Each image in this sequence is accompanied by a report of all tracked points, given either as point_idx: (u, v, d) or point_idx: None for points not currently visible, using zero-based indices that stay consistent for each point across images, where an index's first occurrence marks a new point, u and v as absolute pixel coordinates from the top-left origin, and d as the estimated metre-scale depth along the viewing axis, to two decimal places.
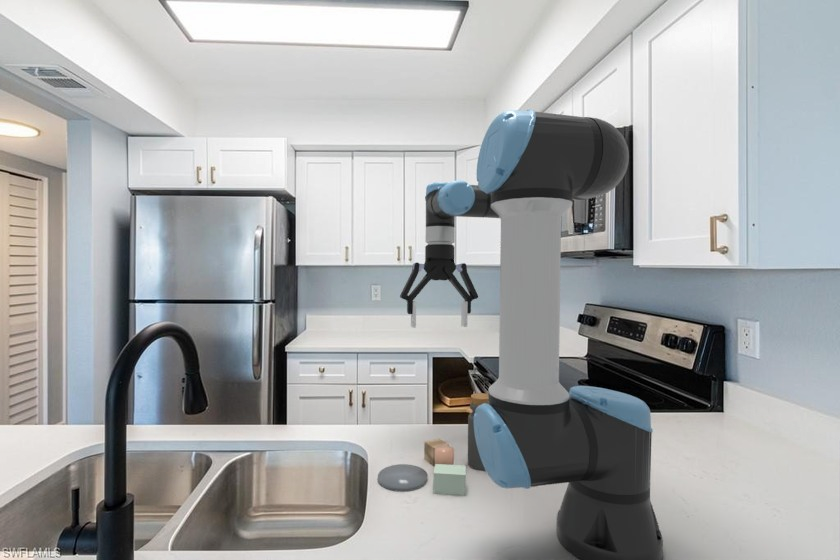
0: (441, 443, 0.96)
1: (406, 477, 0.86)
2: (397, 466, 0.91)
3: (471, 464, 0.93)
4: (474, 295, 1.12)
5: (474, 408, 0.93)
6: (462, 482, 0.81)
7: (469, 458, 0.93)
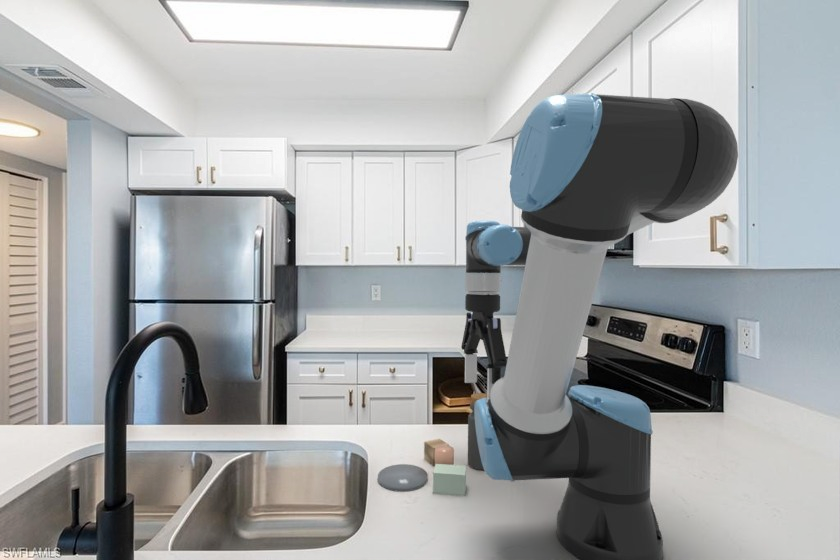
0: (441, 443, 0.96)
1: (406, 477, 0.86)
2: (397, 466, 0.91)
3: (471, 464, 0.93)
4: (493, 362, 0.85)
5: None
6: (462, 482, 0.81)
7: (469, 458, 0.93)
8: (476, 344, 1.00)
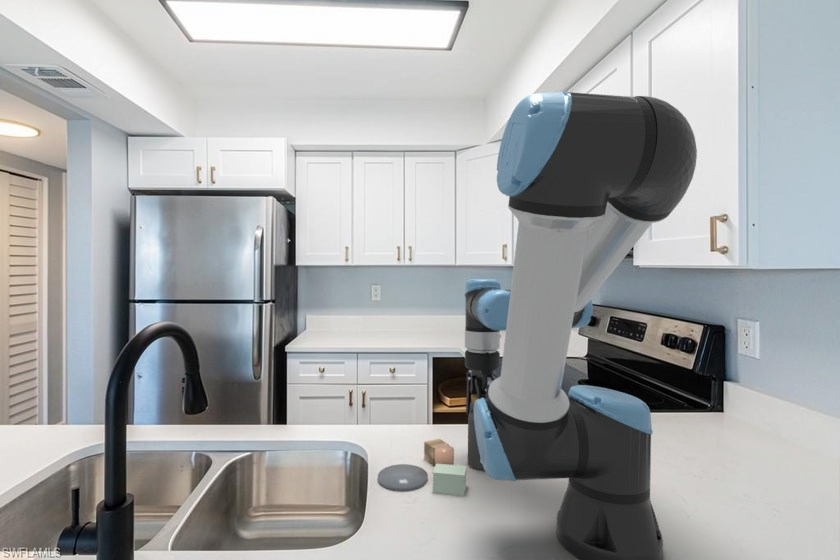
0: (441, 443, 0.96)
1: (406, 477, 0.86)
2: (397, 466, 0.91)
3: (471, 464, 0.93)
4: None
5: None
6: (461, 482, 0.81)
7: (469, 458, 0.93)
8: None
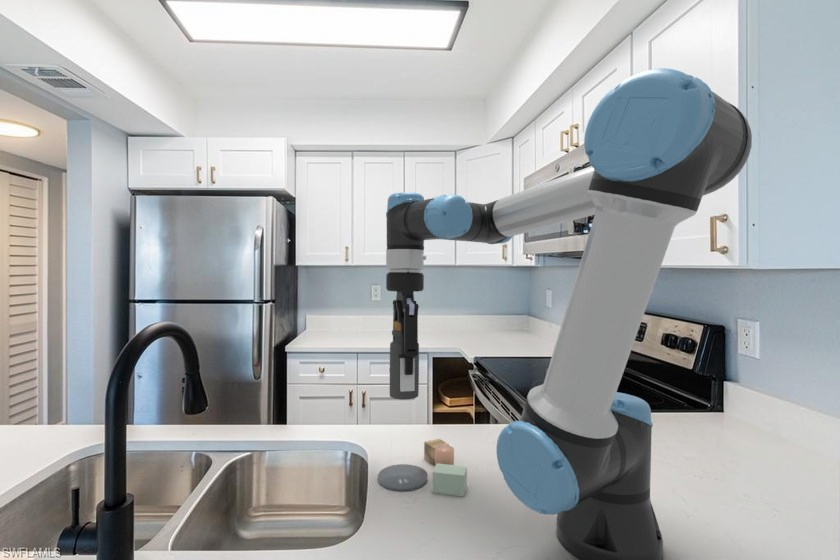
0: (441, 443, 0.96)
1: (406, 477, 0.86)
2: (397, 466, 0.91)
3: (392, 393, 0.85)
4: (404, 350, 0.81)
5: (395, 333, 0.85)
6: (461, 482, 0.81)
7: (390, 388, 0.86)
8: None
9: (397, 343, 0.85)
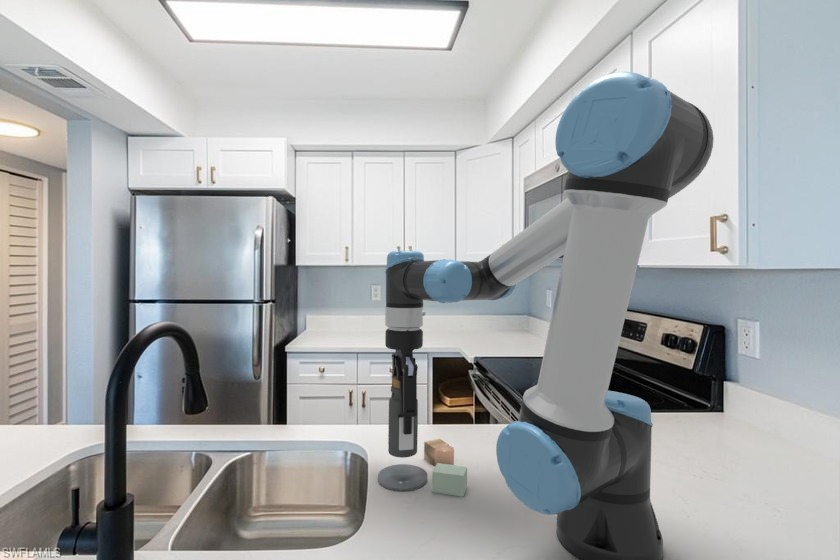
0: (441, 443, 0.96)
1: (406, 477, 0.86)
2: (397, 466, 0.91)
3: (390, 451, 0.85)
4: (403, 411, 0.81)
5: (394, 391, 0.85)
6: (460, 482, 0.81)
7: (389, 445, 0.86)
8: None
9: (396, 401, 0.85)
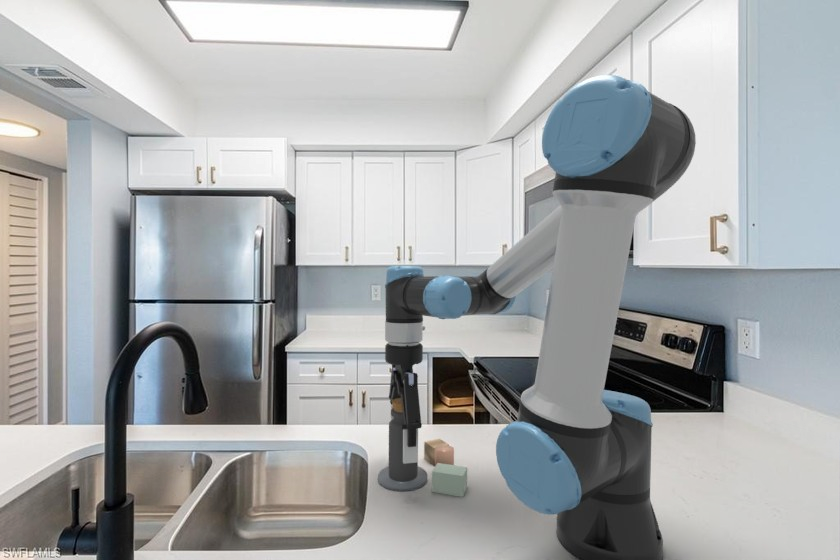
0: (441, 443, 0.96)
1: None
2: None
3: (391, 474, 0.85)
4: (406, 423, 0.78)
5: (393, 414, 0.85)
6: (460, 483, 0.81)
7: (389, 468, 0.86)
8: None
9: (396, 425, 0.85)
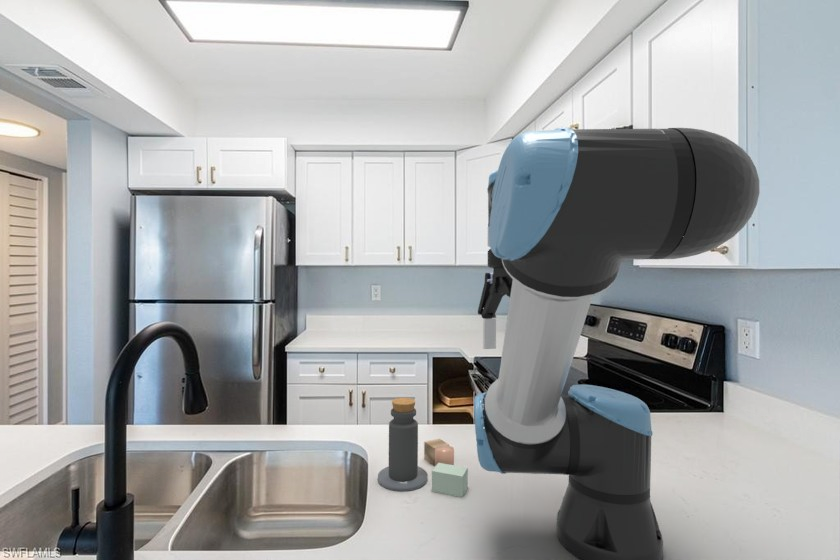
0: (441, 443, 0.96)
1: None
2: None
3: (391, 474, 0.85)
4: None
5: (394, 414, 0.85)
6: (459, 483, 0.81)
7: (389, 468, 0.86)
8: (496, 306, 0.93)
9: (396, 425, 0.85)
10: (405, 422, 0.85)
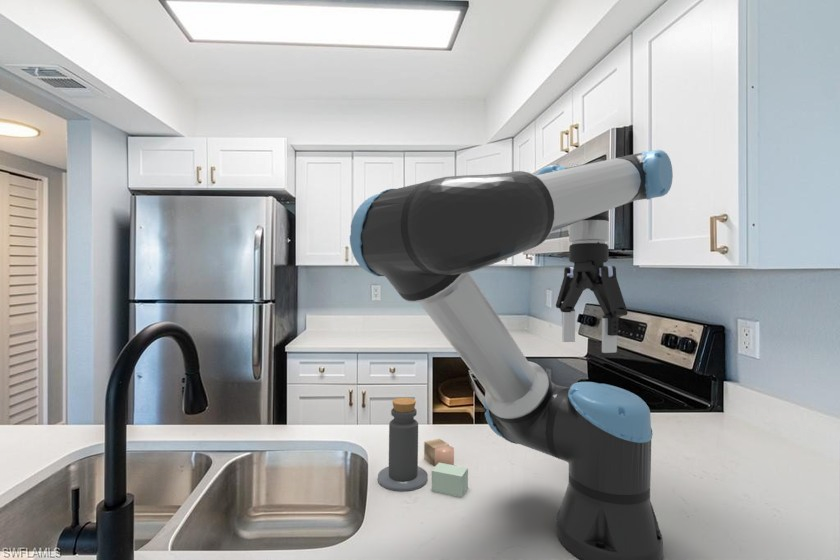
0: (441, 443, 0.96)
1: None
2: None
3: (391, 474, 0.85)
4: (612, 310, 0.80)
5: (394, 414, 0.85)
6: (458, 483, 0.80)
7: (389, 468, 0.86)
8: (576, 300, 0.94)
9: (396, 424, 0.85)
10: (406, 422, 0.85)
